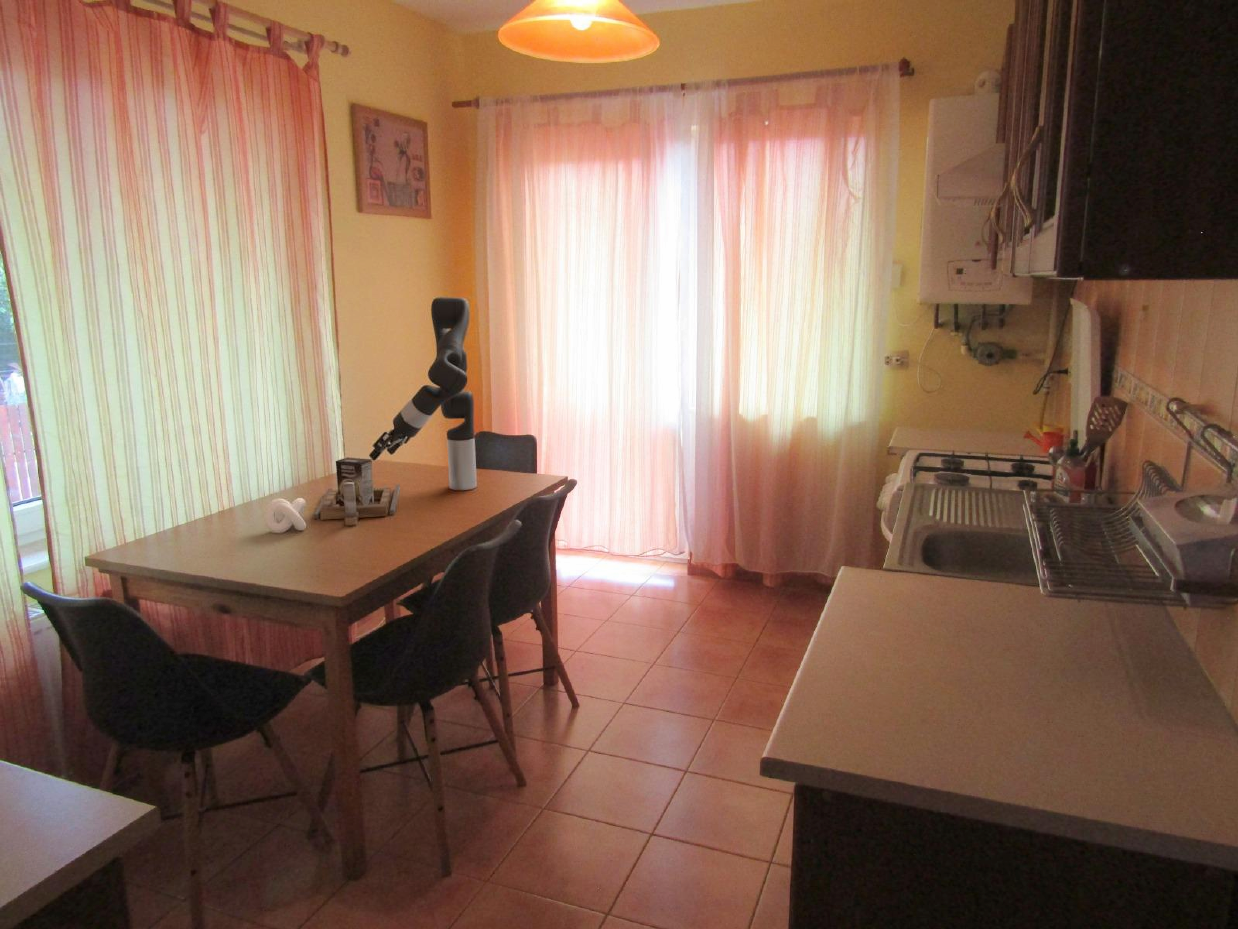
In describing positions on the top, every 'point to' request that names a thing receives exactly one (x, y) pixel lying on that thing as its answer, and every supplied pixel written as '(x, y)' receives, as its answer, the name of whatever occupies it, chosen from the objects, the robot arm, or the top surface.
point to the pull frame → (354, 505)
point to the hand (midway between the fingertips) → (380, 455)
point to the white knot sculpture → (284, 515)
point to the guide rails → (392, 508)
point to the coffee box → (356, 479)
